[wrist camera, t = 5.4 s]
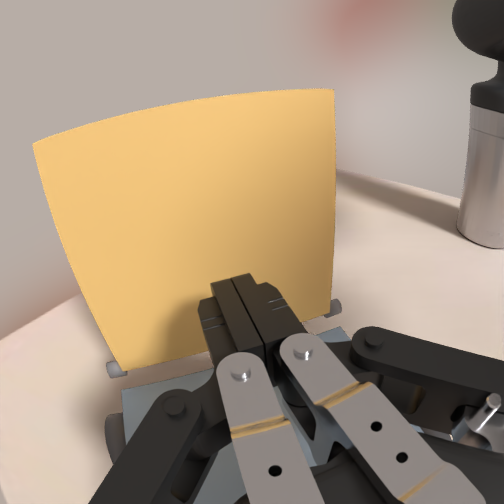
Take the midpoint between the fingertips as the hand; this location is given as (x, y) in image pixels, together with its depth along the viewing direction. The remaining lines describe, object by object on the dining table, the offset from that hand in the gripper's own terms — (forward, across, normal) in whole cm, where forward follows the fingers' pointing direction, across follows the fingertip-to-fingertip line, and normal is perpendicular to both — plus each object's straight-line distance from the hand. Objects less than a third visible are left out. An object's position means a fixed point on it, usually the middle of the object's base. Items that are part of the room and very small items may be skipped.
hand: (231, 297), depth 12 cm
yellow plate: (+4, 0, +6) cm, 7 cm away
